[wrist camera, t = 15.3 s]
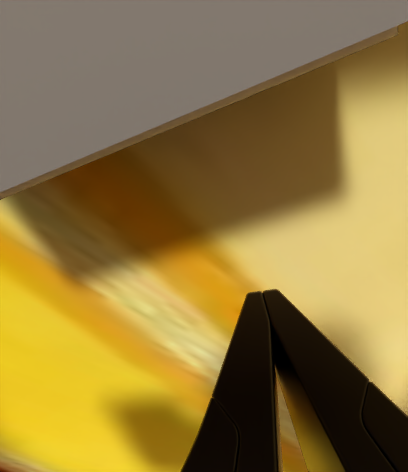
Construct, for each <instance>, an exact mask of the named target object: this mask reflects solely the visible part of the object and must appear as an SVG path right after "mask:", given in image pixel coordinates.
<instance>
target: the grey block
mask: <svg viewBox="0 0 408 472" xmlns="http://www.w3.org/2000/svg"><path fill="white" fill-rule="evenodd" d="M407 21H408V0H0V200H1V199H3V198H5V197H8V196H10V195H13V194H15V193H18V192H20V191H22V190H25V189H27V188H30V187H32V186H34V185H37V184H39V183H42V182H44V181H46V180H49V179H51V178H54V177H56V176H59V175H61V174H63V173H66V172H68V171H71V170H73V169H75V168H78V167H80V166H83V165H85V164H88V163H90V162H92V161H95V160H97V159H100V158H102V157H104V156H107V155H109V154H112V153H114V152H117V151H119V150H121V149H124V148H126V147H129V146H131V145H133V144H136V143H138V142H141V141H143V140H146V139H148V138H150V137H153V136H155V135H158V134H160V133H162V132H165V131H167V130H170V129H172V128H175V127H177V126H179V125H182V124H184V123H187V122H189V121H191V120H194V119H196V118H199V117H201V116H203V115H206V114H208V113H211V112H213V111H216V110H218V109H220V108H223V107H225V106H228V105H230V104H232V103H235V102H237V101H240V100H242V99H245V98H247V97H249V96H252V95H254V94H257V93H259V92H261V91H264V90H266V89H269V88H271V87H274V86H276V85H278V84H281V83H283V82H286V81H288V80H290V79H293V78H295V77H298V76H300V75H303V74H305V73H307V72H310V71H312V70H315V69H317V68H319V67H322V66H324V65H327V64H329V63H331V62H334V61H336V60H339V59H341V58H344V57H346V56H348V55H351V54H353V53H356V52H358V51H360V50H363V49H365V48H368V47H370V46H373V45H375V44H377V43H380V42H382V41H385V40H387V39H389V38H392V37H394V36H397V35H398V25H400V24H403V23H405V22H407Z"/></svg>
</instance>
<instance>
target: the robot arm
mask: <svg viewBox="0 0 408 472" xmlns="http://www.w3.org/2000/svg"><path fill="white" fill-rule="evenodd" d="M275 369H276V372H275ZM276 373H277V376H278V379H279V383H280V386H281V389H282V392H283V395H284V398H285V401H286V404H287V407H288V410H289V413H290V417H291V420H292V423H293V426H294V429H295V432H296V435H297V438H298V441H299V444H300V447H301V451H302V454H303V457H304V460H305V463H306V466H307V469H308V472H408V416H407V415H406V414H405V413H404V412H403V411H402V410H401V409H400V408H399V407H398V406H396V405H395V404H394V403H393V402H392V401H391V400H390V399H389V398H388V397H387V396H386V395H385V394H384V393H383V392H382V391H381V390H380V389H379V388H378V387H377V386H376V385H375V384H374V383H373V382H369V379H368V378H367V377H366V376H365V375H364V374H363V373H362V372H361V371H360V370H359V369H358V368H357V367H356V366H355V365H354V364H353V363H352V362H351V361H350V360H349V359H348V358H347V357H346V356H345V355H344V354H343V353H342V352H341V351H340V350H339V349H338V348H337V347H336V346H335V345H334V344H333V343H332V342H331V341H330V340H329V339H328V338H327V337H326V336H325V335H324V334H323V333H322V332H321V331H320V330H319V329H317V328H316V327H315V326H314V325H313V324H312V323H311V322H310V321H309V320H308V319H307V318H306V317H305V316H304V315H303V314H302V313H301V312H300V311H299V310H298V309H297V308H296V307H295V306H294V305H293V304H292V303H291V302H290V301H289V300H288V299H287V298H286V297H285V296H284V295H283V294H282V293H281V292H280V291H279V290H277V289H272V290H265V291H263V293H262V292H261V291H257V292H249V293H248V294H247V295H246V298H245V301H244V304H243V307H242V309H241V312H240V315H239V318H238V321H237V324H236V327H235V330H234V333H233V336H232V338H231V341H230V344H229V347H228V350H227V353H226V356H225V359H224V362H223V364H222V367H221V370H220V373H219V376H218V379H217V382H216V385H215V388H214V390H213V393H212V398H211V399H210V402H209V404H208V407H207V410H206V413H205V416H204V418H203V421H202V424H201V426H200V429H199V431H198V434H197V437H196V439H195V441H194V443H193V446H192V448H191V450H190V452H189V454H188V457H187V459H186V461H185V463H184V465H183V467H182V469H181V472H283V465H282V451H281V438H280V424H279V410H278V396H277V383H276Z"/></svg>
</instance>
